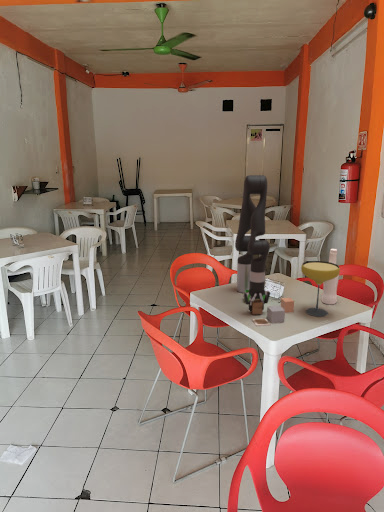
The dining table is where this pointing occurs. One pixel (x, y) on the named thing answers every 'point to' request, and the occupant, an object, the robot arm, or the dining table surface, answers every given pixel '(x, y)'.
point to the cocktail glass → (319, 279)
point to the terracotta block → (287, 304)
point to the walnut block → (257, 306)
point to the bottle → (330, 283)
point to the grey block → (275, 314)
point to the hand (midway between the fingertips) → (255, 310)
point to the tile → (261, 322)
